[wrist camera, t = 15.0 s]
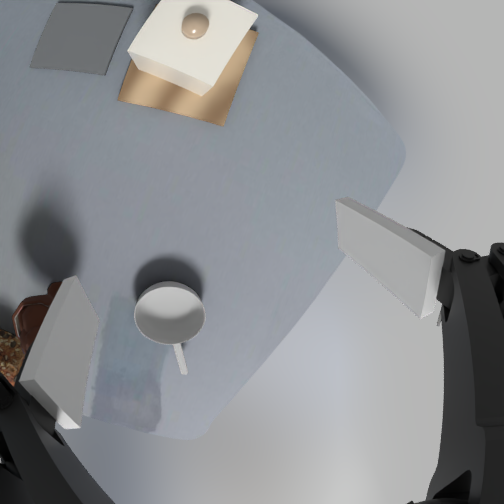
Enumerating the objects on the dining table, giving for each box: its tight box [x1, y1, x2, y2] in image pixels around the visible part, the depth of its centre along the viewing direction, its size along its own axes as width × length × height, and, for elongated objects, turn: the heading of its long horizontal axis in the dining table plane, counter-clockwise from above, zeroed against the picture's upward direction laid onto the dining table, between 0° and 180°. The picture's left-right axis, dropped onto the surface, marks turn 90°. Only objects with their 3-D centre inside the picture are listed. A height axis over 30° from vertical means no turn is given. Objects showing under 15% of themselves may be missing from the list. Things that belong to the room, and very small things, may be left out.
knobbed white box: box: [127, 0, 259, 96], centre depth 24 cm, size 9×9×11 cm
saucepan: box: [134, 281, 206, 375], centre depth 45 cm, size 11×18×4 cm, turn 2°
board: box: [118, 4, 259, 126], centre depth 30 cm, size 14×14×1 cm
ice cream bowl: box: [12, 282, 62, 355], centre depth 32 cm, size 11×11×15 cm
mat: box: [30, 3, 133, 75], centre depth 24 cm, size 12×10×1 cm
